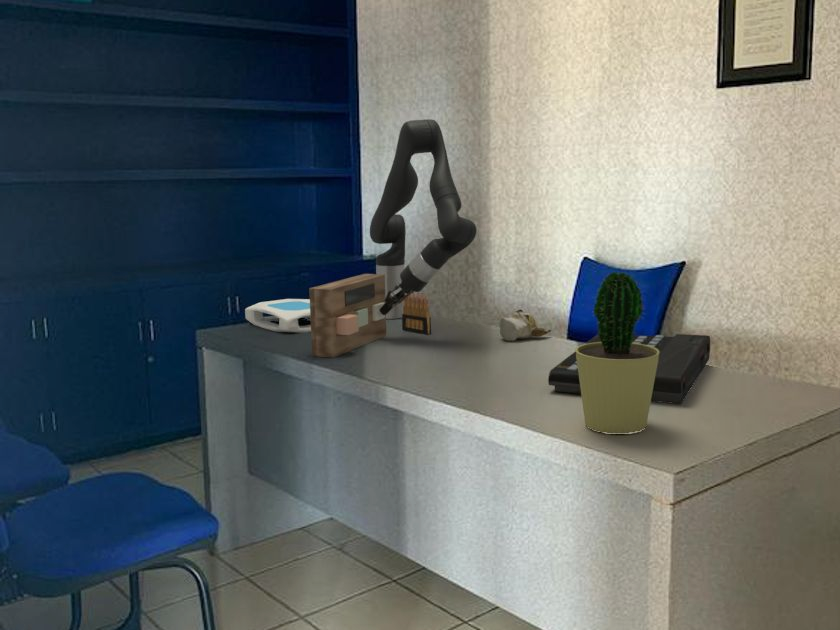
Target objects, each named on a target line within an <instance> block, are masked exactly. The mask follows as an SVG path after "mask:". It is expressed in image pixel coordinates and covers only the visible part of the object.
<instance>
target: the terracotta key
mask: <svg viewBox="0 0 840 630" xmlns="http://www.w3.org/2000/svg"><path fill="white" fill-rule="evenodd" d="M358 331H359V325H358V315H350V314H343V315H340V316H337V317H336V334H340V335H350V334H353V333H355V332H358Z"/></svg>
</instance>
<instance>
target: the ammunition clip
mask: <svg viewBox="0 0 840 630" xmlns="http://www.w3.org/2000/svg"><path fill="white" fill-rule="evenodd" d="M415 293H416V294H415ZM429 304H430V303H429V297H428V293H425V296H424V294H423V293H421V294H420V292H413V293H412V294H411V295H409V296H408V298H406V299H405V300H404V303H403V314H402V318H401V331H402V330H403V332H409V333H415V334H420V335H425V336H428V335H432V326H431V325H432V322H431V321H432V319H431V316H430V306H429Z"/></svg>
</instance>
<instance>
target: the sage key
mask: <svg viewBox="0 0 840 630" xmlns="http://www.w3.org/2000/svg"><path fill="white" fill-rule="evenodd" d="M355 315H358V325H359V327H361V326H364V325H367V324H368V308H361V309H358V310H355Z"/></svg>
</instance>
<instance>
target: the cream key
mask: <svg viewBox="0 0 840 630" xmlns="http://www.w3.org/2000/svg"><path fill="white" fill-rule="evenodd" d="M384 304H385V303H382V302H379V303H376V304H373V305H372V312H373V321H378V320H380V319H383V318H385V315H383V314H382V313H381V312H380V308H381V307H382V306H383V305H384Z"/></svg>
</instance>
